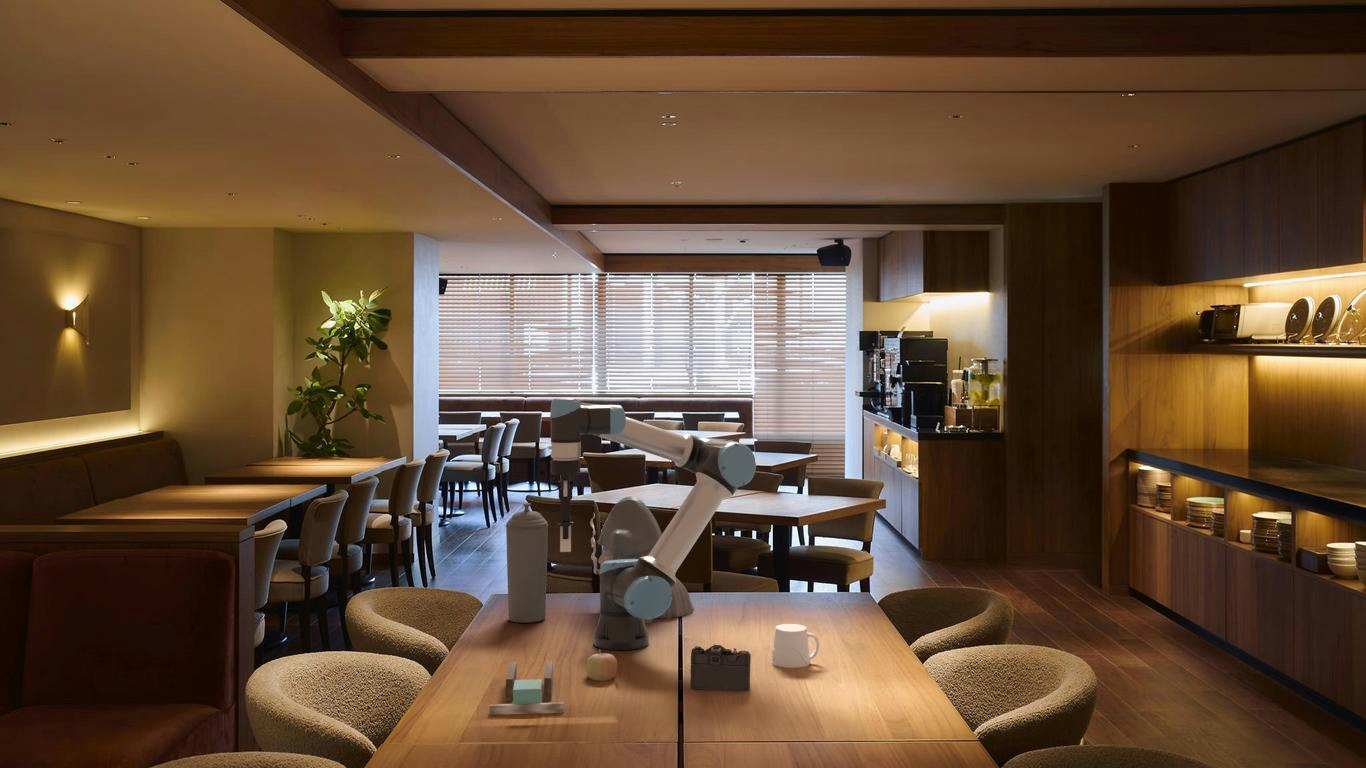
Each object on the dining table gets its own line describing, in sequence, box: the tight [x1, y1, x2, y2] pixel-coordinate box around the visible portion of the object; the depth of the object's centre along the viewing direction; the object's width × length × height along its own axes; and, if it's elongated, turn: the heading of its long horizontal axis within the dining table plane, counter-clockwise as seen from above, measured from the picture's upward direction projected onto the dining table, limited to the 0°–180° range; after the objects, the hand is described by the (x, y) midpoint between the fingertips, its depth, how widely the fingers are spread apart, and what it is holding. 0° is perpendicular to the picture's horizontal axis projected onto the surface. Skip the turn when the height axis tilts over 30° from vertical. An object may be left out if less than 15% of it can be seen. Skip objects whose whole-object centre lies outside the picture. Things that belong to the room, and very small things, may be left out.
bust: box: [589, 496, 695, 624], centre depth 334 cm, size 34×34×35 cm
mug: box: [771, 623, 820, 669], centre depth 277 cm, size 12×9×8 cm
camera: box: [690, 644, 752, 692], centre depth 259 cm, size 14×11×10 cm
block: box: [512, 678, 543, 704], centre depth 239 cm, size 6×7×5 cm
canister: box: [505, 502, 549, 624], centre depth 321 cm, size 13×13×35 cm
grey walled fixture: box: [489, 660, 565, 720], centre depth 246 cm, size 16×23×6 cm
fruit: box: [585, 648, 618, 682], centre depth 261 cm, size 8×7×8 cm
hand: (565, 551), depth 273 cm, fingers closed
